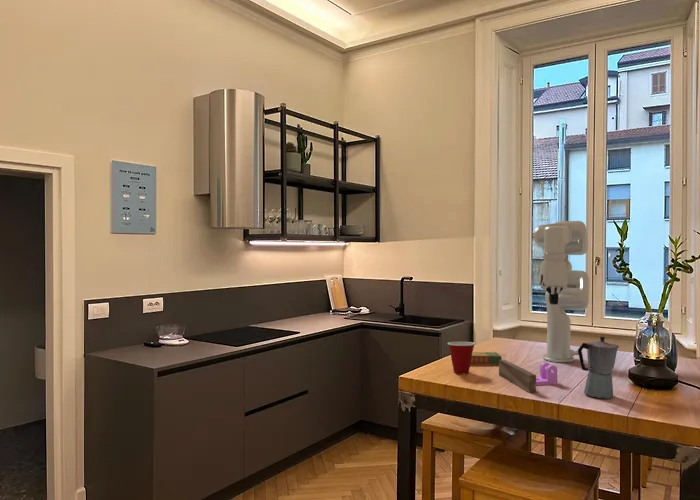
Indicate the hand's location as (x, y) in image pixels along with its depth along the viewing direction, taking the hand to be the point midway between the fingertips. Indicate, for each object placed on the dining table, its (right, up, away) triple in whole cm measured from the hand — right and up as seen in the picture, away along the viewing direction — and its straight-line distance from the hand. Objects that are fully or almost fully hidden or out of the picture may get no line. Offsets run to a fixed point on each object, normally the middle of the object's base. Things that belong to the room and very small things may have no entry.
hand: (553, 304), depth 212 cm
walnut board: (-20, -28, -16) cm, 37 cm away
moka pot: (+3, -28, -31) cm, 42 cm away
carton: (-25, -27, +17) cm, 41 cm away
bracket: (-12, -28, -15) cm, 34 cm away
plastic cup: (-37, -27, +1) cm, 46 cm away
